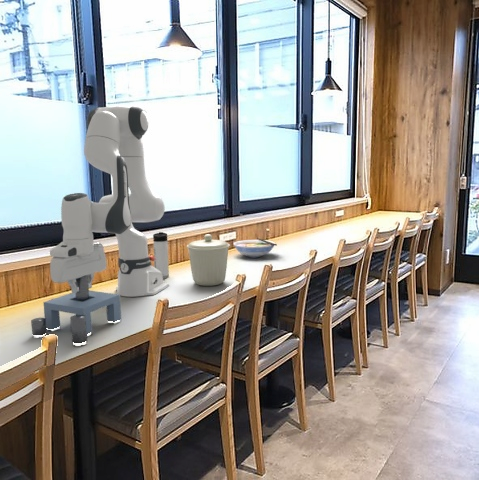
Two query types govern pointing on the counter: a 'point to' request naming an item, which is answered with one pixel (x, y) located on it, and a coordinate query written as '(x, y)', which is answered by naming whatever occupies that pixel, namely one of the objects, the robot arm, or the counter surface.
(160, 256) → the travel mug
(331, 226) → the counter surface
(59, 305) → the grey legged square frame
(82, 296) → the tall steel pin
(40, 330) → the short steel pin
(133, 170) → the robot arm
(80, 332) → the medium steel pin
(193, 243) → the canister
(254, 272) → the counter surface
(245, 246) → the ramen bowl
